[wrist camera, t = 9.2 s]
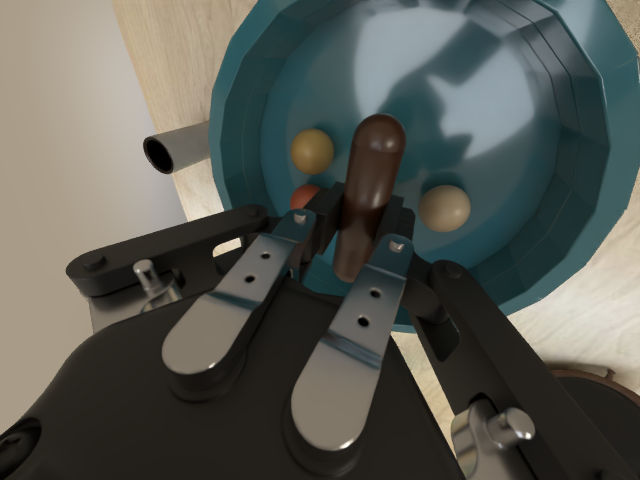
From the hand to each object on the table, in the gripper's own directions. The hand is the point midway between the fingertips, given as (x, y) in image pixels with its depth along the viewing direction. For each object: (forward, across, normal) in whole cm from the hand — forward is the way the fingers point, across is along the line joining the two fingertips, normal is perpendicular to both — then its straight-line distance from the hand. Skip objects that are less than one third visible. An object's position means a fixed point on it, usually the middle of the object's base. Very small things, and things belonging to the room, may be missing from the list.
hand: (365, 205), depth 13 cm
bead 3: (+2, -4, 0) cm, 4 cm away
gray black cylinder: (+19, +27, +6) cm, 34 cm away
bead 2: (+2, +4, +2) cm, 5 cm away
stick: (0, 0, 0) cm, 0 cm away
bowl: (+19, 0, 0) cm, 19 cm away
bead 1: (+2, +4, -2) cm, 5 cm away
